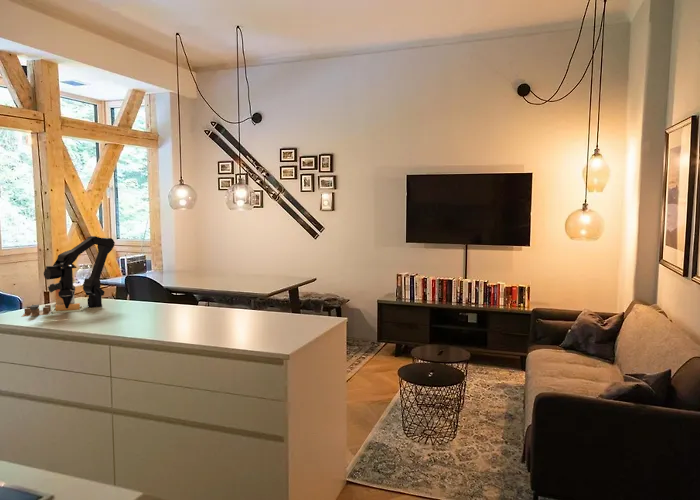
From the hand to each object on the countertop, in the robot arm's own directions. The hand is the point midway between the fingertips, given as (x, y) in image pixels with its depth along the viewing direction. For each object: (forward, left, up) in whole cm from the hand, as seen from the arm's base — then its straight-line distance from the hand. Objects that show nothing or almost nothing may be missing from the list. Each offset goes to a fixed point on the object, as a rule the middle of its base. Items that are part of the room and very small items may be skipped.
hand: (67, 306), depth 264 cm
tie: (+14, +11, +2) cm, 17 cm away
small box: (+4, -25, -3) cm, 25 cm away
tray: (0, 0, -3) cm, 3 cm away
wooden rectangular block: (0, 0, -2) cm, 2 cm away
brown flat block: (+14, +1, -3) cm, 14 cm away
